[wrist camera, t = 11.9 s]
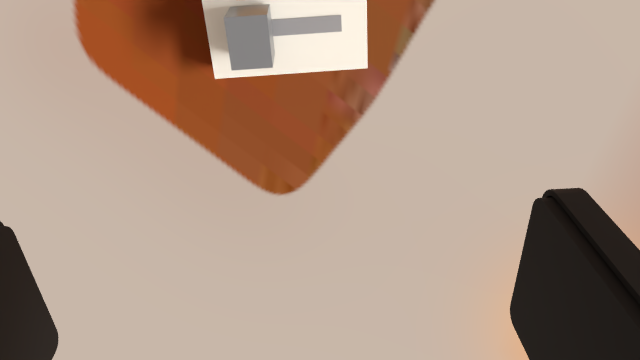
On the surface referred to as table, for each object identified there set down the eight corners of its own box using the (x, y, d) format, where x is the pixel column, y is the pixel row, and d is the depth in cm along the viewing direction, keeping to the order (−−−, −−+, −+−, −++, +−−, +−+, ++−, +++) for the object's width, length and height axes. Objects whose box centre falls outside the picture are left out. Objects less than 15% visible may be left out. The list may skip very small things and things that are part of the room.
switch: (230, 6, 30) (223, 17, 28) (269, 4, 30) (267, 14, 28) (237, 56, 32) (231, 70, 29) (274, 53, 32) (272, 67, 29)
